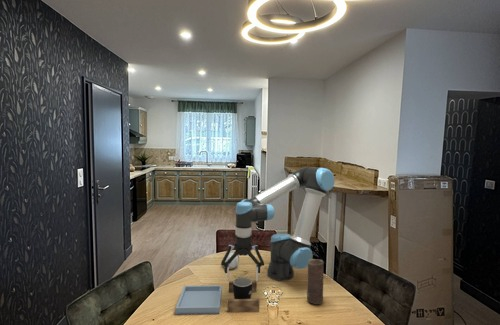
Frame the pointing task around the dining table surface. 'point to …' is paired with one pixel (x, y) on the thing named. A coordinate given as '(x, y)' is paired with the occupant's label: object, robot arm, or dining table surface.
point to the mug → (242, 288)
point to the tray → (199, 300)
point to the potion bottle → (233, 261)
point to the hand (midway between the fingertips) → (242, 279)
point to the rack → (243, 301)
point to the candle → (315, 281)
